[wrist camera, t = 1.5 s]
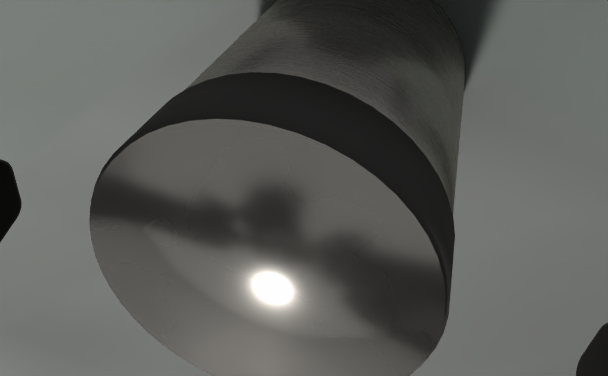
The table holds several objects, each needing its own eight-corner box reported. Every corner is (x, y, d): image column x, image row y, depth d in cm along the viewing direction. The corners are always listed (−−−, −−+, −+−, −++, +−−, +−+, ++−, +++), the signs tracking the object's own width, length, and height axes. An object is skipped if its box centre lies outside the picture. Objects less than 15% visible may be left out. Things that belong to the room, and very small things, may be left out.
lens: (498, -12, 11) (507, 182, 5) (435, 188, 14) (401, 440, 9) (258, -56, 12) (57, 76, 6) (249, 143, 15) (108, 348, 9)
